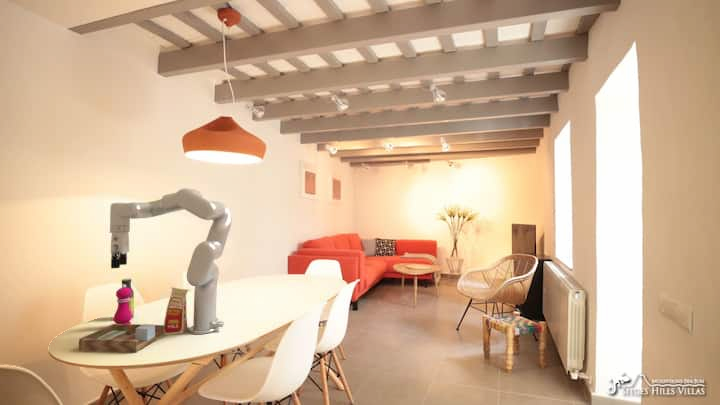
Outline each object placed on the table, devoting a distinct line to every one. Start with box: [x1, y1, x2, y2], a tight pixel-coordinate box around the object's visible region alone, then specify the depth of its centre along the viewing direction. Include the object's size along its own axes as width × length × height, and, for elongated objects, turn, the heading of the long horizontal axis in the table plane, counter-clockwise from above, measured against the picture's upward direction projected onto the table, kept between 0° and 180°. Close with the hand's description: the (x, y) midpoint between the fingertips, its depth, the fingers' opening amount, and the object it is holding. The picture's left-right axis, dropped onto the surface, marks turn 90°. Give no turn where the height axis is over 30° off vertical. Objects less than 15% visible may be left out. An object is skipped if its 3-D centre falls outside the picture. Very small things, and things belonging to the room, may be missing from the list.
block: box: [135, 323, 156, 341], centre depth 142 cm, size 5×5×5 cm
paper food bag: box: [163, 286, 189, 336], centre depth 157 cm, size 9×9×20 cm
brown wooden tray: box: [78, 323, 165, 354], centre depth 142 cm, size 23×18×4 cm
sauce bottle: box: [121, 278, 135, 319], centre depth 172 cm, size 7×6×20 cm
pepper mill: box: [113, 284, 133, 324], centre depth 160 cm, size 7×7×20 cm
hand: (119, 266), depth 157 cm, fingers open, 9 cm apart
